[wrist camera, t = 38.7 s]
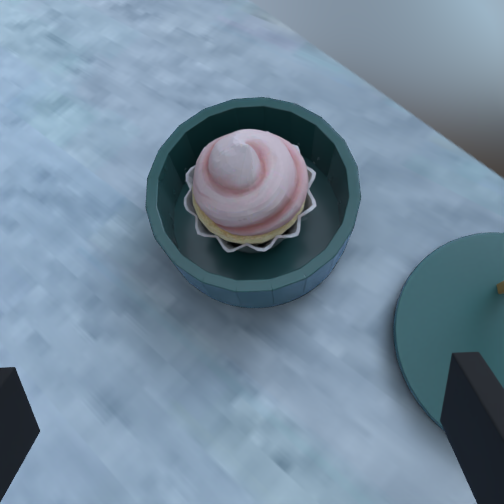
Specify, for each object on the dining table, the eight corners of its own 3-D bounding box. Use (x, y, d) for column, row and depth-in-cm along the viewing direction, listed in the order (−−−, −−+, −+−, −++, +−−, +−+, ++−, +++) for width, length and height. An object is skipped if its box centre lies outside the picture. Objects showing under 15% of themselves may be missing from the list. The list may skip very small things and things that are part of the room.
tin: (162, 311, 33) (140, 295, 28) (169, 143, 38) (151, 103, 33) (356, 304, 32) (371, 287, 27) (339, 134, 37) (349, 91, 32)
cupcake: (328, 256, 33) (346, 199, 24) (208, 285, 33) (178, 240, 24) (296, 152, 36) (301, 65, 27) (185, 178, 36) (152, 100, 27)
